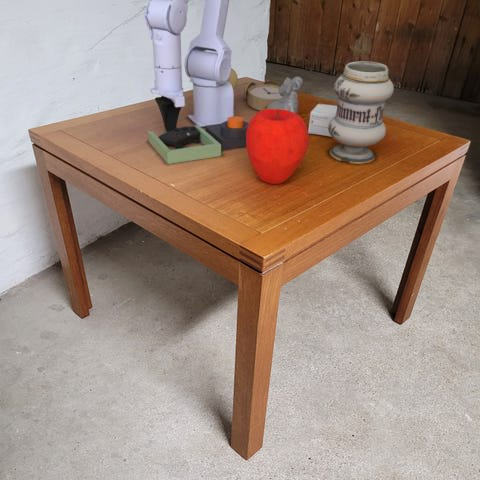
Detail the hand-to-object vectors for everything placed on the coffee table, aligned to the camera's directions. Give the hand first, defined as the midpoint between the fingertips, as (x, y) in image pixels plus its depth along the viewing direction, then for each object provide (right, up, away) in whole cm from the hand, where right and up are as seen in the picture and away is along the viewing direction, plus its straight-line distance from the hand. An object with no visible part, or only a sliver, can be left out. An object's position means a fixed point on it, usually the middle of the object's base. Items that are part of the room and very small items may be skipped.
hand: (170, 131), depth 115 cm
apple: (+23, -15, -15) cm, 31 cm away
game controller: (+2, -3, 0) cm, 4 cm away
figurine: (+26, +6, +11) cm, 29 cm away
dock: (+3, -5, -3) cm, 7 cm away
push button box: (+14, -1, +1) cm, 14 cm away
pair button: (+15, 0, -2) cm, 15 cm away
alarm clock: (+23, +16, +24) cm, 36 cm away
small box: (+37, +3, +8) cm, 38 cm away
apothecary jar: (+40, -7, -4) cm, 41 cm away
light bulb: (+12, +13, +20) cm, 26 cm away
